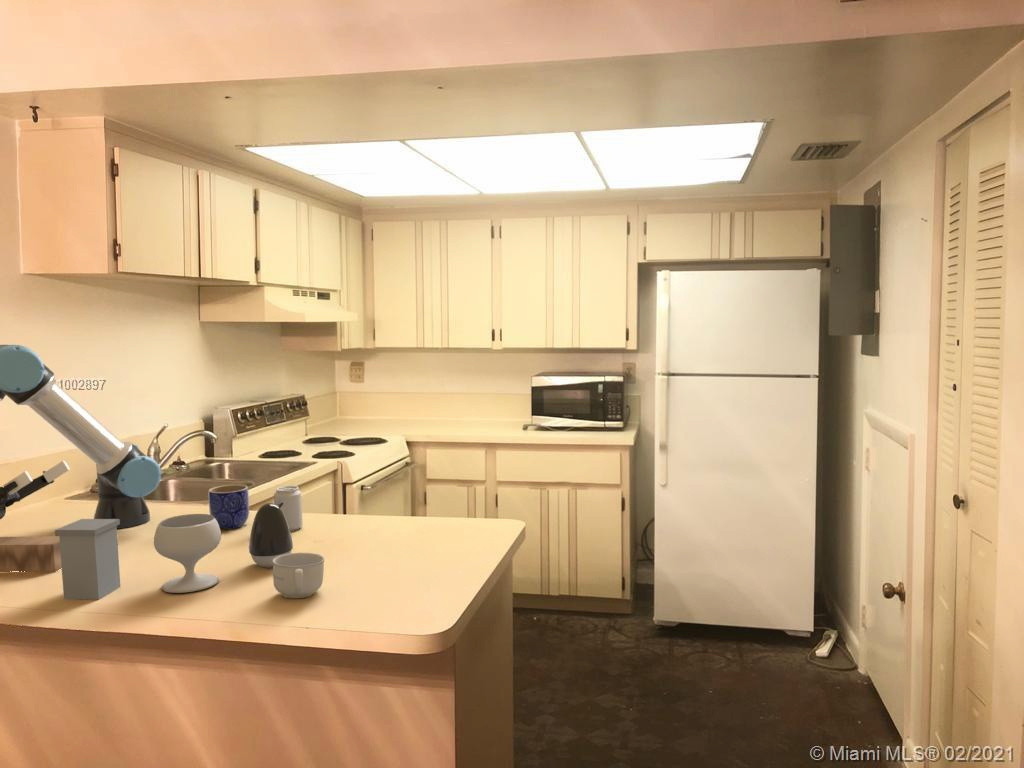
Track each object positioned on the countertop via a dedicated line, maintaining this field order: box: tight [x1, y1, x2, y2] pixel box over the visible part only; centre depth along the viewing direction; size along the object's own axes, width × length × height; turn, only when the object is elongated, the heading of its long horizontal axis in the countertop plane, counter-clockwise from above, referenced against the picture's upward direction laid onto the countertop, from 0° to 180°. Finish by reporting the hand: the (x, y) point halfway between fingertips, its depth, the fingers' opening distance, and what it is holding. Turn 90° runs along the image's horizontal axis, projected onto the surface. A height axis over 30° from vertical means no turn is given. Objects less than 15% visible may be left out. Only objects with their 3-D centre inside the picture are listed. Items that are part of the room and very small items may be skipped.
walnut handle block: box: [0, 535, 62, 573], centre depth 192 cm, size 16×7×18 cm
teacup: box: [272, 552, 325, 599], centre depth 168 cm, size 14×11×8 cm
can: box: [273, 485, 303, 532], centre depth 222 cm, size 8×8×12 cm
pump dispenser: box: [248, 502, 294, 568], centre depth 190 cm, size 10×10×15 cm
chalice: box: [153, 513, 222, 594], centre depth 176 cm, size 14×14×15 cm
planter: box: [207, 484, 250, 530], centre depth 226 cm, size 11×11×11 cm
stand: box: [54, 518, 121, 600], centre depth 172 cm, size 9×9×16 cm
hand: (48, 470), depth 189 cm, fingers open, 13 cm apart
